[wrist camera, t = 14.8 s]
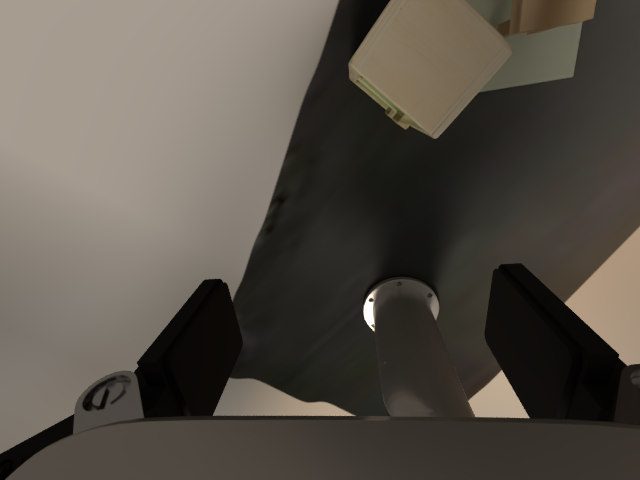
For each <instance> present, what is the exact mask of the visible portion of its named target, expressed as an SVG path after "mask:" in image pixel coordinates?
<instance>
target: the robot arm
mask: <svg viewBox="0 0 640 480" xmlns="http://www.w3.org/2000/svg"><path fill="white" fill-rule="evenodd" d="M363 313H364V318H365V321H366V322H367V324H368V326H369V327H370V328H371V329H372V330H373V331H375V338H376V346H377V355H378V363H379V371H380V379H381V387H382V395H383V399H384V403H385V405H386V408H387V410H388V412H389V413H390V415H391V416H213V413H214V411H215V409H216V406H217V404H218V402H219V400H220V397H221V395H222V393H223V390H224V388H225V386H226V383H227V381H228V379H229V376H230V374H231V372H232V370H233V367H234V365H235V363H236V360H237V358H238V356H239V353H240V351H241V349H242V343H243V341H242V336H241V332H240V328H239V325H238V321H237V318H236V314H235V310H234V307H233V303H232V299H231V296H230V292H229V289H228V285H227V284H226V283H225V282H224V283H223V281H222V280H221V279H209V280H204V281H203V282H202V283H201V284H200V285H199V287H198V288H197V289H196V291H195V292H194V293H193V294H192V295H191V297H190V298H189V299H188V300H187V302H186V303H185V304H184V305H183V306H182V308H181V309H180V310H179V312H178V313H177V314H176V315H175V316H174V318H173V319H172V320H171V321H170V323H169V324H168V325H167V326H166V327H165V329H164V330H163V331H162V332H161V333H160V335H159V336H158V337H157V339H156V340H155V341H154V342H153V344H152V345H151V346H150V347H149V348H148V349H147V351H146V352H145V353H144V355H143V356H142V357H141V358H140V359H139V361H138V362H137V364H138V366H139V367H138V368H137V369H136V370H135V372H134V373H133V372H131V371H119V372H115V373H112V374H109V375H107V376H105V377H103V378H101V379H100V380H98V381H96V382H95V383H93V384H92V385H91V386H89V387H88V388H87V389H86V390H85V391H84V392H83V393H82V395H81V396H80V397H79V399H78V400H77V403H76V406H75V414H73V415H72V416H70V417H68V418H66V419H64V420H62V421H60V422H59V423H57V424H55V425H53V426H51V427H49V428H48V429H46V430H44V431H42V432H40V433H38V434H37V435H35V436H33V437H31V438H29V439H27V440H25V441H24V442H22V443H20V444H18V445H16V446H14V447H13V448H11V449H9V450H7V451H5V452H3V453H1V454H0V480H640V364H634V365H629V366H627V365H626V364H625V363H623V362H622V361H621V360H620V359H619V358H618V357H619V354H618V353H617V352H616V351H615V350H614V349H612V348H611V347H610V346H609V345H608V344H607V343H606V342H605V341H604V340H603V339H602V338H601V337H600V336H599V335H597V334H596V333H595V332H594V331H593V330H592V329H591V328H590V327H589V326H588V325H587V324H586V323H584V321H583V320H581V319H580V318H579V317H578V316H577V315H576V314H575V313H574V312H573V311H572V310H571V309H570V308H569V307H568V306H566V305H565V304H564V303H563V302H562V301H561V300H560V299H559V298H558V297H557V296H556V295H555V294H554V293H553V292H551V291H550V290H549V289H548V288H547V287H546V286H545V285H544V284H543V283H542V282H541V281H540V280H539V279H537V278H536V277H535V276H534V275H533V274H532V273H531V272H530V271H529V270H528V269H527V268H526V267H525V266H524V265H522V264H519V263H518V264H501V265H500V266H499V268H498V269H495V270H494V271H493V276H492V284H491V291H490V298H489V305H488V312H487V319H486V326H485V339H486V342H487V344H488V346H489V348H490V350H491V351H492V353H493V355H494V357H495V358H496V360H497V362H498V364H499V365H500V367H501V369H502V370H503V372H504V374H505V376H506V377H507V379H508V381H509V383H510V384H511V386H512V388H513V390H514V391H515V393H516V395H517V397H518V398H519V400H520V402H521V403H522V405H523V407H524V409H525V410H526V412H527V414H528V416H529V417H530V418H484V417H475V415H474V413H473V411H472V409H471V407H470V404H469V402H468V400H467V397H466V395H465V393H464V390H463V388H462V385H461V383H460V380H459V378H458V375H457V373H456V371H455V368H454V366H453V363H452V360H451V358H450V355H449V353H448V350H447V348H446V345H445V343H444V340H443V338H442V335H441V333H440V330H439V328H438V325H437V323H436V319H437V316H438V314H439V302H438V299H437V296H436V295H435V293H434V291H433V290H432V289H431V287H430V286H428V285H427V284H426V283H425V282H423V281H421V280H418V279H415V278H412V277H394V278H389V279H386V280H384V281H381V282H380V283H378V284H376V285H375V286H374V287H373V288H372V289H371V290H370V291H369V292H368V293H367V295H366V297H365V299H364V303H363Z"/></svg>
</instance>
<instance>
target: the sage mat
mask: <svg viewBox="0 0 640 480" xmlns="http://www.w3.org/2000/svg"><path fill="white" fill-rule="evenodd" d="M467 1H468V2H469V3H470V4H471V5H472V6H473V7H474V8H475V9H476V10H477V11H478V12H479V13H480V14H481V15H482V16H483V17H484V18H485V19H486V20H487V21H488V22H489V23H490V24H491V25H492V26H493V27H494V26H497V25H499V24H501V23H503V22H505V21H507V20H510V18H511V7H512V0H467ZM582 23H583V22H580V23H576V24H571V25H565V26H560V27H555V28H552V29H549V30H546V31H543V32H540V33H535V34H530V35H527V33H522V34H517V35H512V36H508V37H505V39H506V40H507V41H508V42H509V43H510V45H511V46H512V48H513V53H512V55H511V56H510V57H509V58H508V59H507V61H506V62H505V63H504V64H503V65H502V66H501V68H500V69H499V70H498V71H497V72H496V73H495V74H494V76H493V77H492V78H491V79H490V80H489V81H488V82H487V83H486V84H485V86H484V87H483V88H482V89H481V90H480V91H479V92H484V91H490V90H496V89H503V88H509V87H515V86H521V85H527V84H533V83H539V82H545V81H551V80H558V79H564V78H570V77H573V74H574V69H575V63H576V57H577V51H578V46H579V40H580V34H581V28H582Z"/></svg>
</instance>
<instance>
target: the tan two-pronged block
mask: <svg viewBox="0 0 640 480" xmlns="http://www.w3.org/2000/svg"><path fill="white" fill-rule="evenodd" d="M595 6H596V0H512V7H511V18H510V20H507V21H505V22H503V23H501V24H499V25H497V26H494V28H495V29H496V30H497V31H498V32H499V33H500V34H501V35H502V36H503V37H504V38H505V37H508V36H512V35H517V34H522V33H527V35H530V34H535V33H540V32H543V31H546V30H549V29H552V28H555V27H560V26H565V25H571V24H576V23H580V22H583V21H586V20H590V19H593V16H594V11H595Z"/></svg>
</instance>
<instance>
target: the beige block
mask: <svg viewBox="0 0 640 480" xmlns="http://www.w3.org/2000/svg"><path fill="white" fill-rule="evenodd" d="M512 53H513V48H512V46H511V45H510V43H509V42H508V41H507V40H506V39H505V38H504V37H503V36H502V35H501V34H500V33H499V32H498V31H497V30H496V29H495V28H494V27H493V26H492V25H491V24H490V23H489V22H488V21H487V20H486V19H485V18H484V17H483V16H482V15H481V14H480V13H479V12H478V11H477V10H476V9H475V8H474V7H473V6H472V5H471V4H470V3H469V2H468V1H467V0H390V1H389V3H388V4H387V6H386V7H385V9H384V10H383V12H382V13H381V15H380V16H379V18H378V19H377V21H376V22H375V24H374V25H373V27H372V28H371V30H370V31H369V33H368V34H367V36H366V37H365V39H364V40H363V42H362V43H361V45H360V46H359V48H358V49H357V51H356V52H355V54H354V55H353V57H352V58H351V60H350V62H349V79H350V80H351V81H352V82H354V83H355V84H356V85H357V86H358V87H360V88H361V89H362V90H363V91H364V92H365V93H367V94H368V95H369V96H370V97H371V98H372V99H374V100H375V101H376V102H377V103H378V104H380V105H381V106H382V107H383V108H384V109H385V110H386V111H385V114H387V115H388V116H389V117H390V118H392V119H393V121H394V122H396V123H397V124H398V125H400V126H401V127H403V128H404V129H405V130H406V129H407V128H408V127H409V126H411V127H413V128H415V129H417V130H419V131H421V132H423V133H425V134H426V135H428V136H430V137H432V138H434V139H436V138H438V137H439V136H440V135H441V134H442V133H443V132H444V130H445V129H446V128H447V127H448V126H449V125H450V124H451V123H452V122H453V120H454V119H455V118H456V117H457V116H458V115H459V114H460V113H461V111H462V110H463V109H464V108H465V107H466V106H467V105H468V104H469V102H470V101H471V100H472V99H473V98H474V97H475V96H476V95H477V93H478V92H479V91H480V90H481V89H482V88H483V87H484V86H485V84H486V83H487V82H488V81H489V80H490V79H491V78H492V77H493V76H494V74H495V73H496V72H497V71H498V70H499V69H500V68H501V66H502V65H503V64H504V63H505V62H506V61H507V59H508V58H509V57H510V56H511V55H512Z"/></svg>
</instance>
